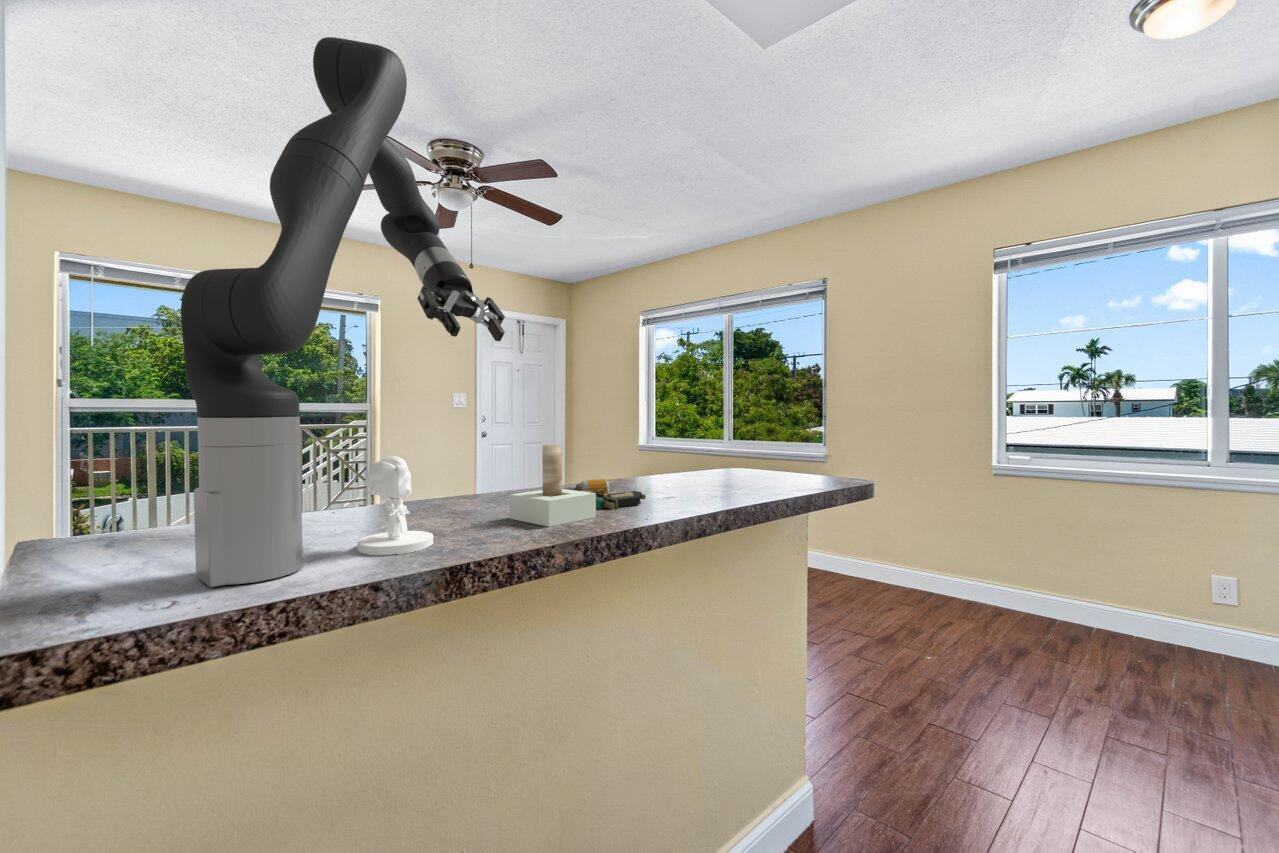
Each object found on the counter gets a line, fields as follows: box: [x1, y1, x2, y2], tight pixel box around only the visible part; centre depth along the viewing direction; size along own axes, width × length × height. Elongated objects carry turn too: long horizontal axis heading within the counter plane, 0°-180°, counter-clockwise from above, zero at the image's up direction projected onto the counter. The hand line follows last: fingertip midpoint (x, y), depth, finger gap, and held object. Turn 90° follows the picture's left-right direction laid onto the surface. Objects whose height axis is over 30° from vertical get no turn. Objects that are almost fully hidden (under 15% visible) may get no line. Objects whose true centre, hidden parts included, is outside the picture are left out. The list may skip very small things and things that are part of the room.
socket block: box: [509, 488, 597, 528], centre depth 93 cm, size 10×10×4 cm
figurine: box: [357, 455, 434, 556], centre depth 74 cm, size 9×9×12 cm
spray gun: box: [564, 478, 646, 510], centre depth 108 cm, size 4×17×15 cm
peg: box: [541, 444, 563, 497], centre depth 93 cm, size 3×3×12 cm
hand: (479, 335), depth 95 cm, fingers open, 8 cm apart
